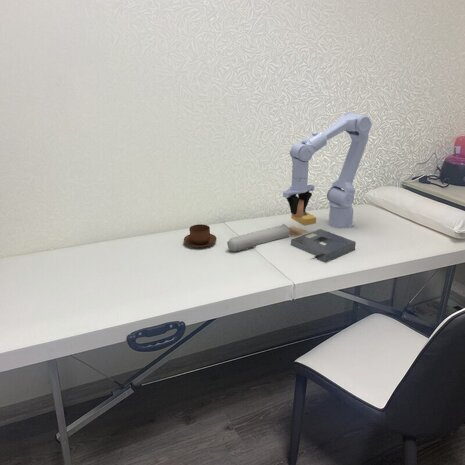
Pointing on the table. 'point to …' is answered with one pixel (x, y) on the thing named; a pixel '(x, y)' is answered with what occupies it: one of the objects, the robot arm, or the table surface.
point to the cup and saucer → (200, 236)
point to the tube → (258, 237)
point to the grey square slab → (324, 252)
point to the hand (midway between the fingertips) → (297, 212)
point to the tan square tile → (296, 231)
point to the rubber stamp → (305, 218)
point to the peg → (299, 209)
